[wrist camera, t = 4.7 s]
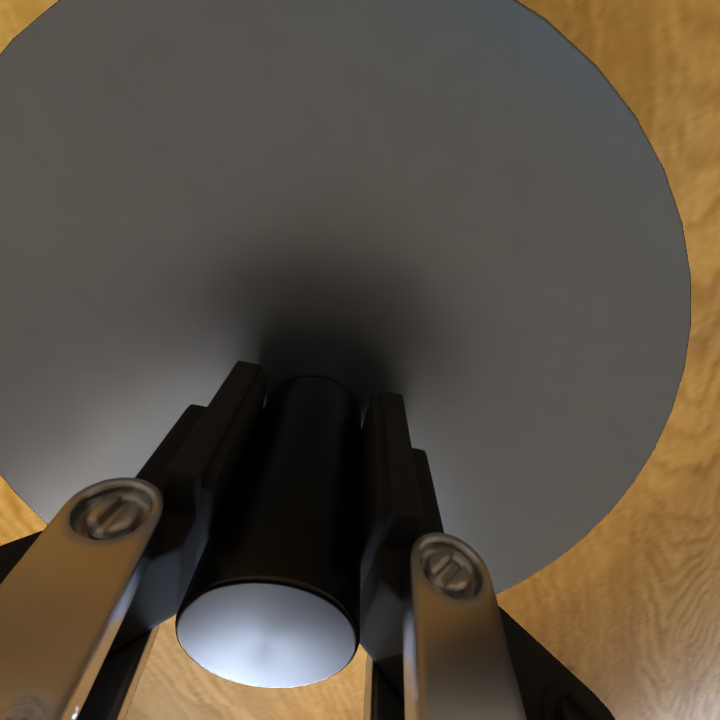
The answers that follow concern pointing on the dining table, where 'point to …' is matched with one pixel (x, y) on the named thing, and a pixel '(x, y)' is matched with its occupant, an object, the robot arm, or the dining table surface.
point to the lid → (331, 283)
